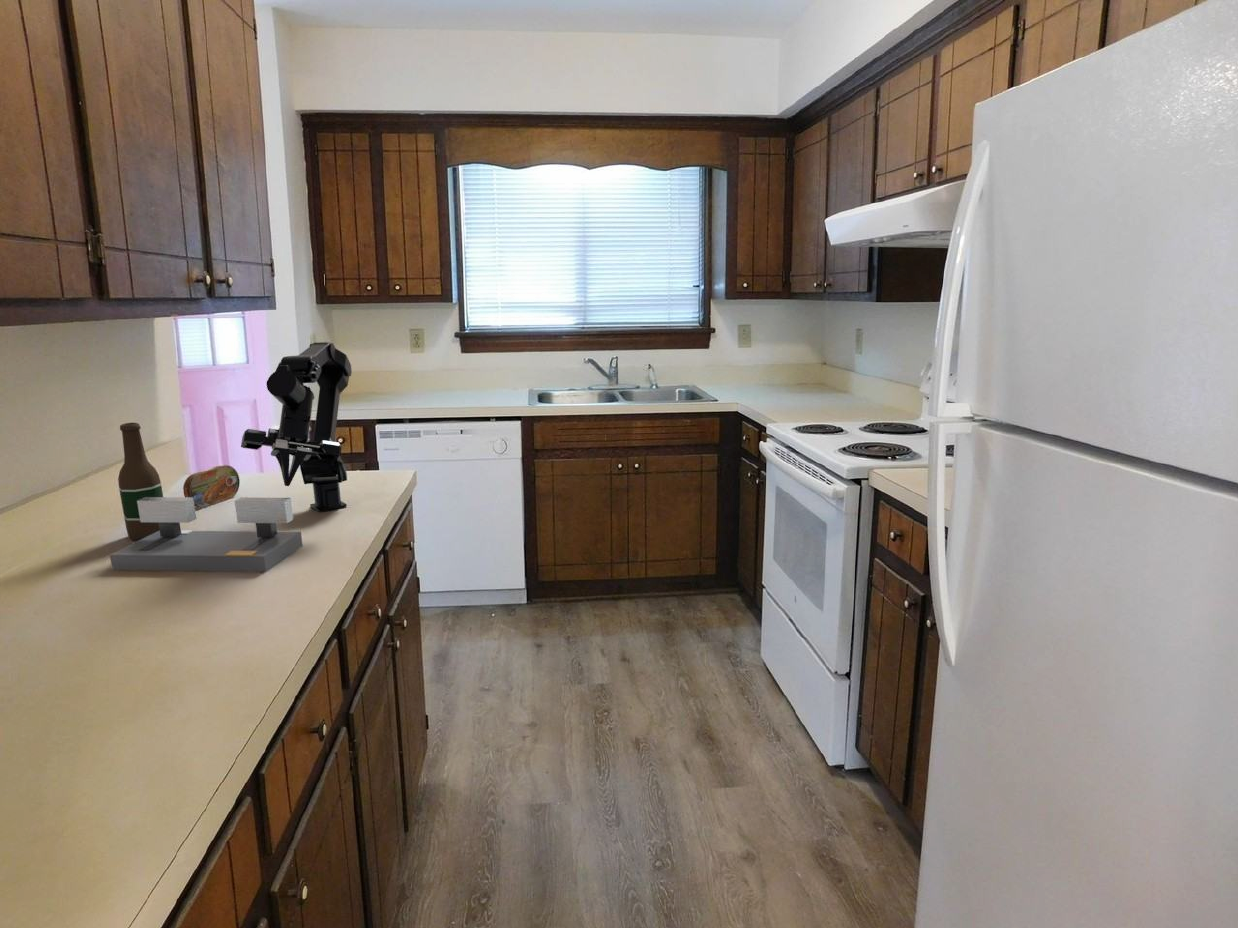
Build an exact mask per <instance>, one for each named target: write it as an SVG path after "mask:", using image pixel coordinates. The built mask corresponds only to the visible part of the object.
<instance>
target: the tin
mask: <svg viewBox="0 0 1238 928" xmlns="http://www.w3.org/2000/svg"><path fill="white" fill-rule="evenodd" d="M239 487H240V476H239V473H238V472H237V470H236V469H235V468H234V467H233V466H231V465H227V464H226V465H225V464H224V465H216V466H214V467H210V468H207V469H204V470H201V471H198V472H194V473H191V474H190V475H189V476H188V477H186V479H185V481H184V483H183V486H182V489H183V497H193V500H194V507H195V508H202V509H203V508H205V509H206V508H208V506H209V507H211V505H212V506H214V505H217V504H219V502H220V503H222V502H225V501H227V500H231V499H232V498H234V497H235V496H236V495H237V493H238V491H239V489H240V488H239ZM216 503H217V504H216Z"/></svg>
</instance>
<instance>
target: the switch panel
mask: <svg viewBox="0 0 1238 928" xmlns="http://www.w3.org/2000/svg"><path fill="white" fill-rule="evenodd" d="M303 546H304V545H303V538H302V532H301V531H277V535H275V536H274V537H272V538H271V537H257V530H255V531H254V530H251V531H247V530H246V531H244V530H243V531H241V530H240V531H239V530H238V531H237V530H234V531H232V530H193V529H189V530H187V529H185V530H183V529H181V534H179V535H177V536H175V537H161V536H160V531H157V532H155V533H153V534H151V535H149V536H147V537H145V538H143V539H141V540H139V541H135V542H133V543H131V544H129V545H127V546H125V547H122V548H121V549H118V550H117V551H115V552H113V553H112V552H111V554H109V558H110V563H111V567H112V568H111V569H112V571H166V572H167V571H168V572H169V571H170V572H171V571H172V572H173V571H175V572H177V571H182V572H184V571H185V572H189V571H190V572H248V573H249V572H251V573H252V572H255V573H256V572H258V573H261V572H263V573H265V572H268V571H269V570H271V569H272V568H274V567H275V566H276V565H278V564H279V563H280V562H282V561H283V560H285V559H286V558H288V557H289V556H291V555H292V554H294V553H295V552H296V551H298V550H299V549H301V548H302V547H303Z"/></svg>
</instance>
